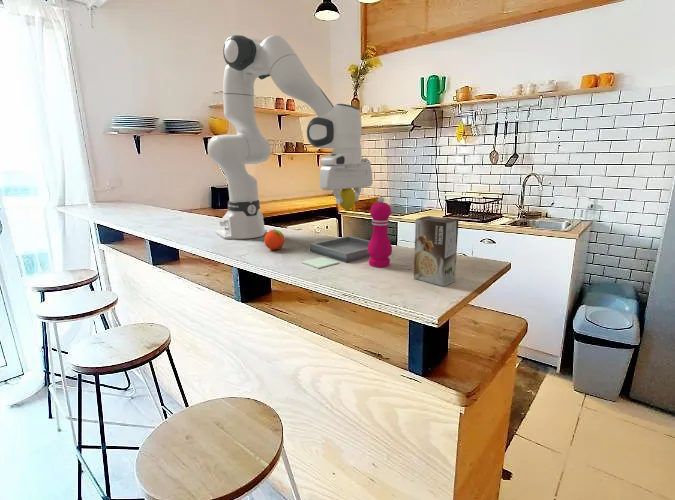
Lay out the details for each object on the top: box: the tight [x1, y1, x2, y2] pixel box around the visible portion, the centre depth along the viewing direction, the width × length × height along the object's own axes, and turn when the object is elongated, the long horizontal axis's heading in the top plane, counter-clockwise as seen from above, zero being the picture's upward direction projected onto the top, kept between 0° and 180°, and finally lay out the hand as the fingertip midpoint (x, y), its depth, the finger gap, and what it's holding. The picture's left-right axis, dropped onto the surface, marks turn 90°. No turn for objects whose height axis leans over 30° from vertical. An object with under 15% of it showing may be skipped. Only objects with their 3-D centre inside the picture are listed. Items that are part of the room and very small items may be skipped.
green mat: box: [301, 256, 340, 269], centre depth 113 cm, size 8×8×1 cm
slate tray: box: [309, 235, 371, 263], centre depth 125 cm, size 18×18×3 cm
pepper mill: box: [367, 196, 393, 268], centre depth 109 cm, size 7×7×20 cm
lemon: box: [339, 188, 356, 212], centre depth 121 cm, size 6×6×8 cm
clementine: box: [263, 229, 286, 251], centre depth 128 cm, size 8×7×7 cm
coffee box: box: [413, 215, 460, 287], centre depth 96 cm, size 9×6×16 cm
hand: (347, 202), depth 122 cm, fingers closed on lemon, 5 cm apart
